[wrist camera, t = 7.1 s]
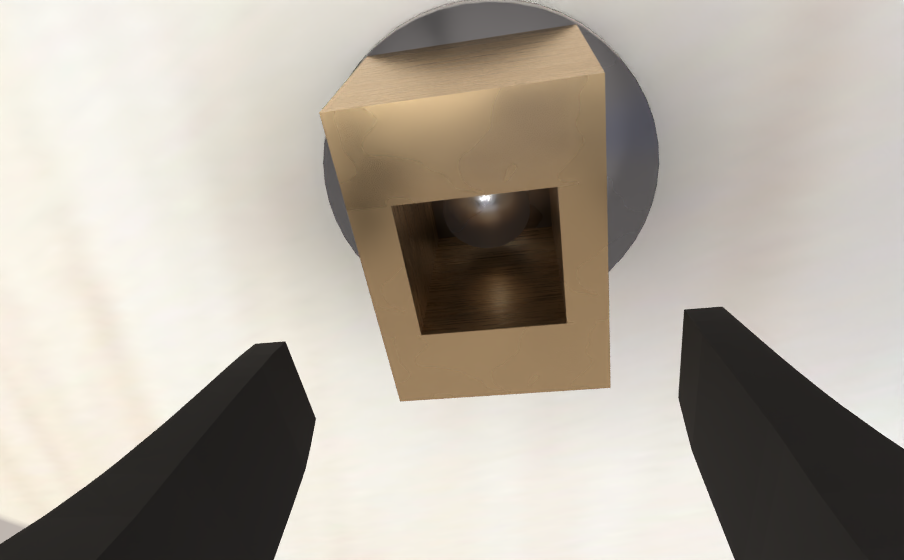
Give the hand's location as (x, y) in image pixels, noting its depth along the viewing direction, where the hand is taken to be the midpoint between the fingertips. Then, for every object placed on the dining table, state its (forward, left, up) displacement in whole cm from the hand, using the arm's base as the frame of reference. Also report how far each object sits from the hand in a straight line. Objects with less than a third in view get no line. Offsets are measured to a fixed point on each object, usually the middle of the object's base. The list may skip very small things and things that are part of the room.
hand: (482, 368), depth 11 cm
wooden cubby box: (0, 0, -8) cm, 8 cm away
